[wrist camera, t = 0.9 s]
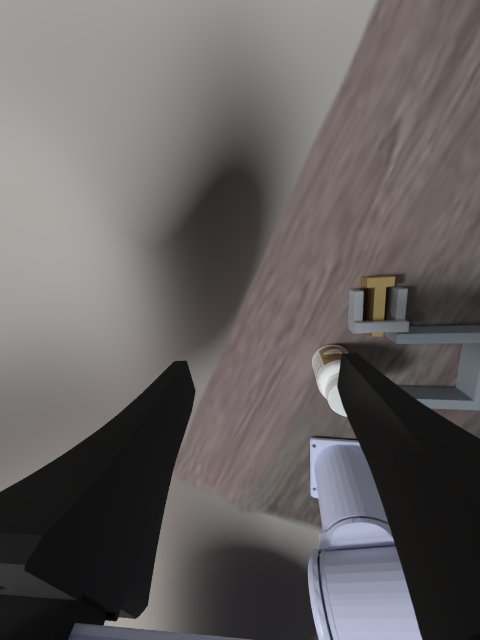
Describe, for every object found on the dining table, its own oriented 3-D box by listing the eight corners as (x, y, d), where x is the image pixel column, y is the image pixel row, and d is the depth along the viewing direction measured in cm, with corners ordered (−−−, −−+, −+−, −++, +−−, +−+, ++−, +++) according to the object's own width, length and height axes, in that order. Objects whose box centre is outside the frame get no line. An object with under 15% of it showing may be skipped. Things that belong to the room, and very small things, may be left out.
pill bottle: (356, 347, 25) (385, 382, 18) (345, 381, 26) (369, 427, 19) (316, 340, 26) (329, 370, 18) (307, 373, 27) (316, 415, 20)
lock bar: (382, 331, 24) (390, 336, 22) (358, 331, 24) (364, 336, 23) (386, 275, 23) (395, 276, 21) (361, 277, 23) (367, 278, 21)
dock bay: (464, 395, 24) (487, 412, 21) (345, 392, 27) (352, 406, 24) (484, 281, 21) (512, 284, 19) (349, 289, 24) (357, 292, 21)
